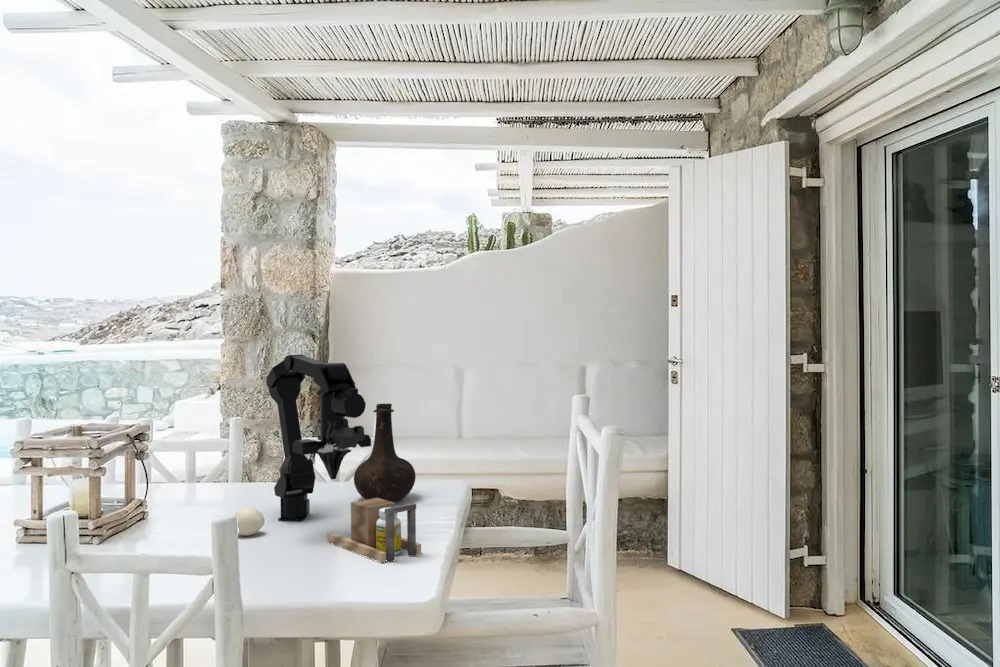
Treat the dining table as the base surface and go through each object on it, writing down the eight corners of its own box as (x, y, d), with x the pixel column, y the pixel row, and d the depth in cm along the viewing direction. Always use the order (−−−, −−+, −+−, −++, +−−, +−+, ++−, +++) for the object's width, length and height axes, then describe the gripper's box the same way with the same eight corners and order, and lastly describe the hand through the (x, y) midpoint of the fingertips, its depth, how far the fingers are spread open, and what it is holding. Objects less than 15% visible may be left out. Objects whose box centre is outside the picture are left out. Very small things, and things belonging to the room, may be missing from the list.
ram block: (351, 546, 164) (350, 502, 164) (377, 540, 169) (377, 497, 169) (368, 553, 159) (368, 507, 159) (394, 546, 164) (394, 502, 164)
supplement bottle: (405, 550, 161) (404, 507, 161) (394, 557, 156) (394, 513, 156) (383, 548, 163) (382, 505, 163) (371, 555, 157) (371, 511, 157)
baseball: (262, 538, 172) (262, 509, 172) (230, 539, 171) (230, 511, 171) (266, 530, 179) (266, 503, 179) (234, 532, 177) (234, 504, 177)
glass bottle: (388, 510, 199) (387, 407, 199) (340, 502, 208) (339, 405, 208) (428, 497, 214) (427, 402, 214) (381, 491, 223) (381, 400, 223)
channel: (327, 542, 168) (327, 494, 168) (365, 533, 175) (365, 487, 175) (383, 564, 152) (382, 511, 152) (423, 553, 159) (422, 503, 159)
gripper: (314, 420, 164) (314, 489, 164) (383, 414, 177) (384, 478, 177) (291, 417, 172) (291, 482, 172) (358, 411, 185) (359, 472, 185)
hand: (333, 479), depth 176 cm, fingers closed
